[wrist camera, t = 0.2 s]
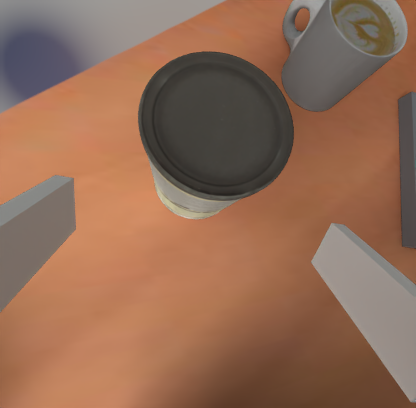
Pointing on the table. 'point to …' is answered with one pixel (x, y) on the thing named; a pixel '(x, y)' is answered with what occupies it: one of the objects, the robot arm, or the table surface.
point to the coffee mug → (338, 47)
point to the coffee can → (213, 132)
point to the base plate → (408, 167)
